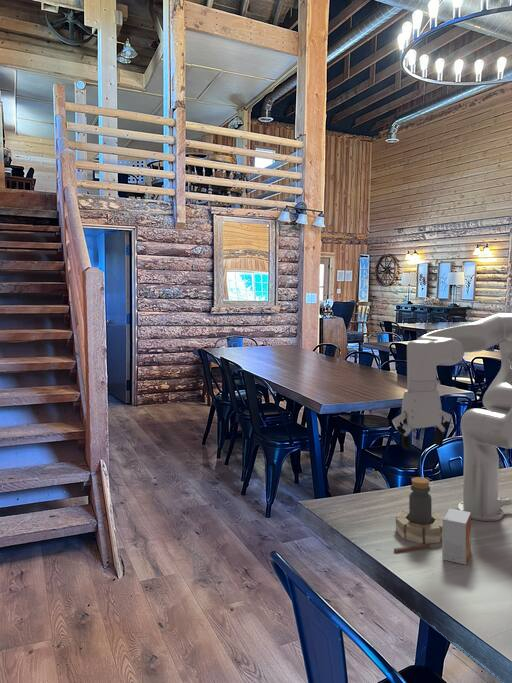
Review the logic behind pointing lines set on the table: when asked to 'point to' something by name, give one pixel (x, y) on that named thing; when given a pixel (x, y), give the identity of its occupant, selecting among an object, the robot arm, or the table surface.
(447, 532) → the small box
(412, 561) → the table surface
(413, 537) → the segmented wooden ring
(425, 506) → the bottle
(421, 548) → the brown wooden stick
